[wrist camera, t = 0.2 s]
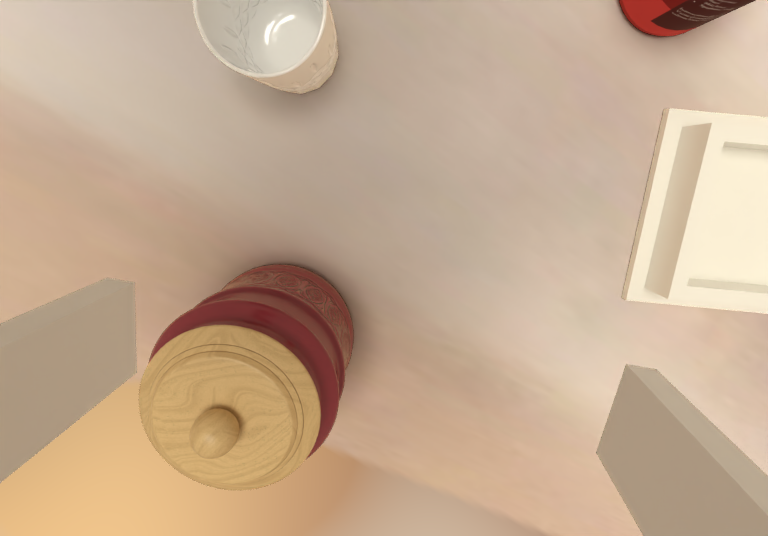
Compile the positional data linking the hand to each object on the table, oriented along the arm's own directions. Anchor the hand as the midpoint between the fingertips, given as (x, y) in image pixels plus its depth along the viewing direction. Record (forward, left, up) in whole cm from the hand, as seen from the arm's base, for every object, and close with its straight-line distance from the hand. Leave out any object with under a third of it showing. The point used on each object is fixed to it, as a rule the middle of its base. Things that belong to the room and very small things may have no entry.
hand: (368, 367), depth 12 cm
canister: (+10, -9, -27) cm, 31 cm away
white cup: (-14, -9, -27) cm, 32 cm away
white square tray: (-4, +29, -27) cm, 40 cm away
